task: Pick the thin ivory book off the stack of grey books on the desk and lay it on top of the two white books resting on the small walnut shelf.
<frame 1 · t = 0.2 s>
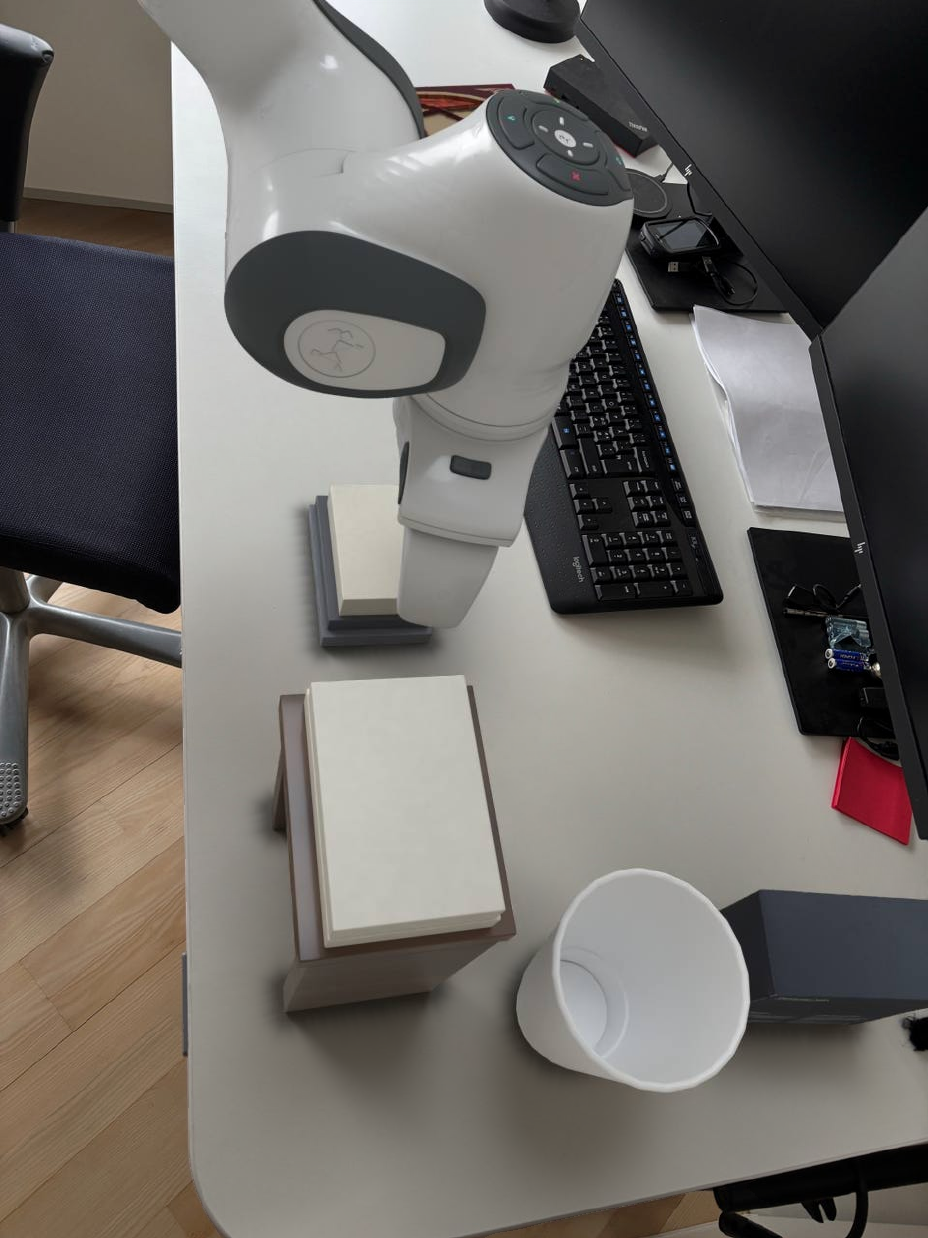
hand: (426, 538, 63), 15 cm above the table, tool pointing down, fingers open, 8 cm apart
grey books: (366, 577, 79), on the table
white books: (394, 810, 48), resting on walnut shelf
walnut shelf: (348, 896, 65), on the table
cup: (562, 1009, 65), on the table
small box: (765, 975, 70), on the table
ivory book: (372, 557, 76), point 3 cm above the table, touching grey books
book: (437, 162, 109), on the table
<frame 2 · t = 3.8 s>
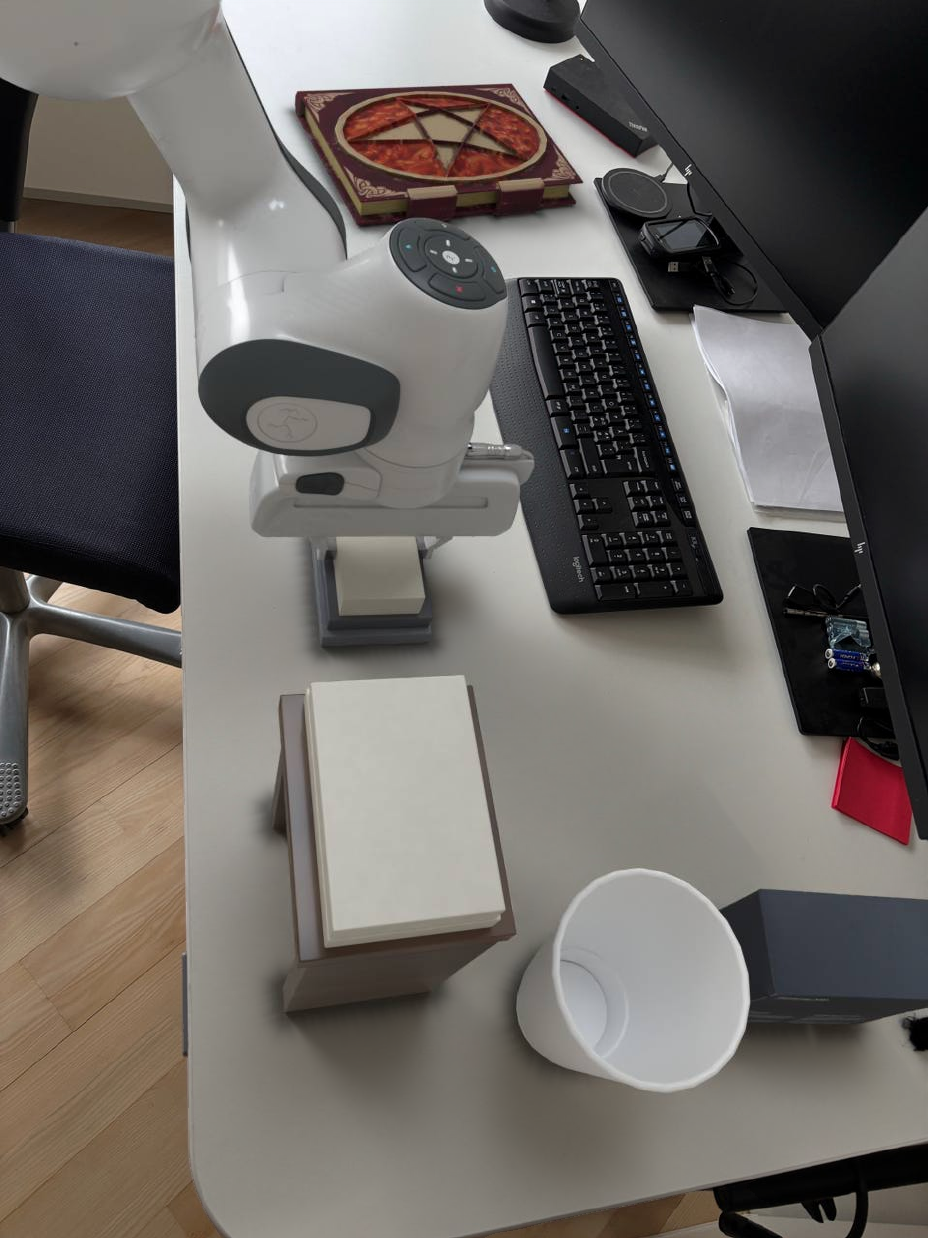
hand: (373, 552, 75), 4 cm above the table, tool pointing down, fingers closed on ivory book, 6 cm apart
ivory book: (372, 557, 76), point 3 cm above the table, touching grey books, gripper
everything else where it was.
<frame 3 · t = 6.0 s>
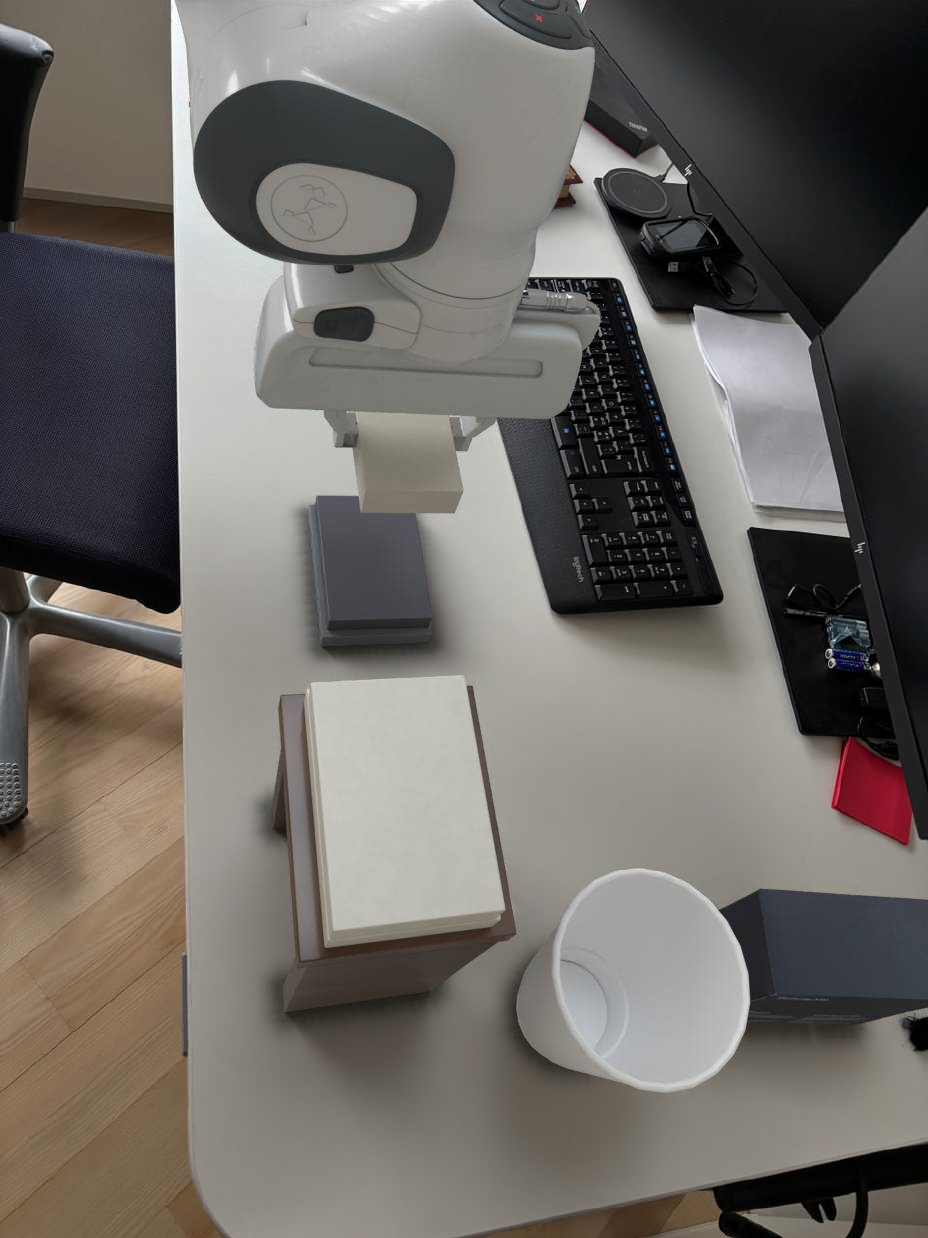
hand: (399, 442, 63), 18 cm above the table, tool pointing down, fingers closed on ivory book, 6 cm apart
ivory book: (398, 448, 64), point 17 cm above the table, touching gripper
everything else where it was.
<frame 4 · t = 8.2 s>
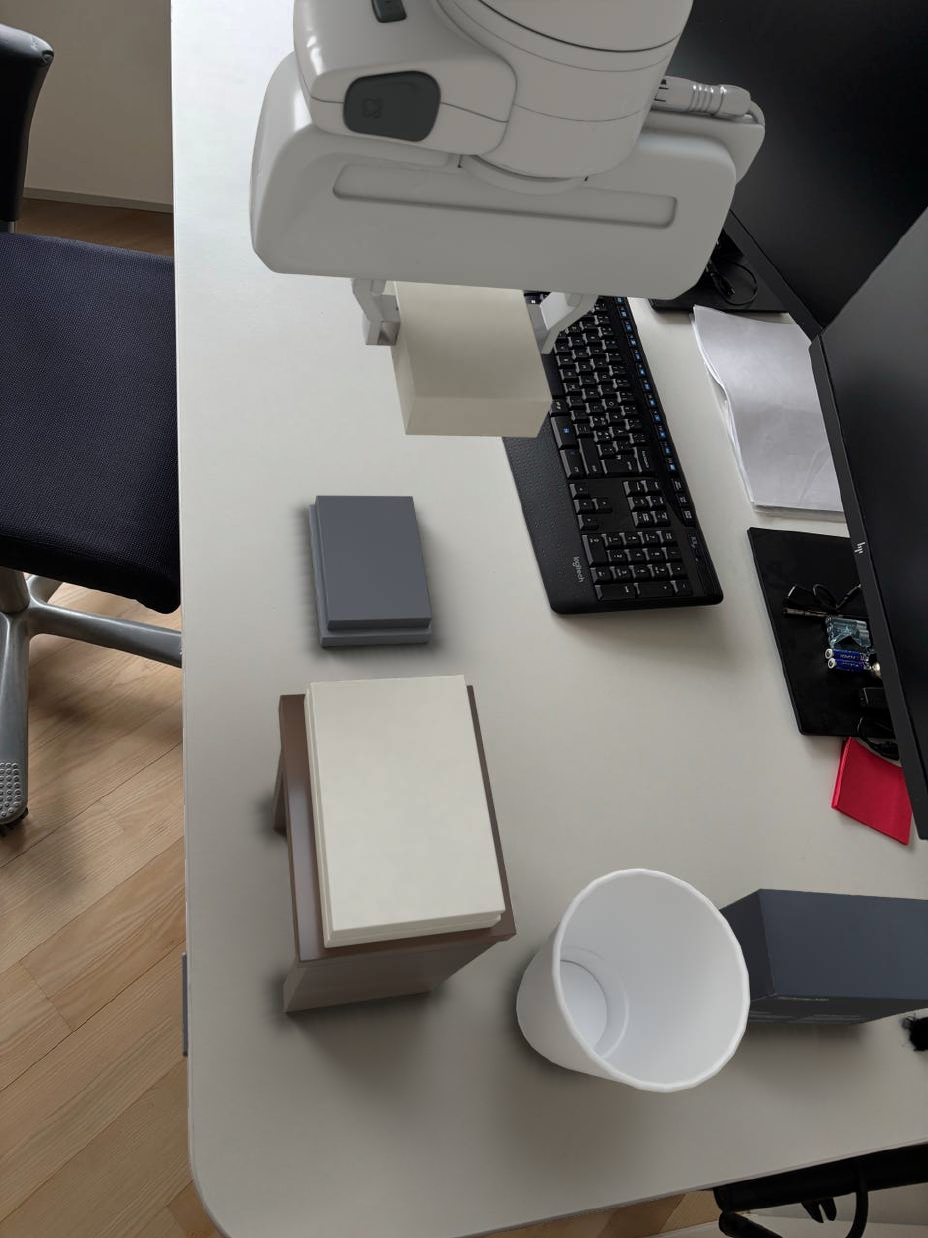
hand: (455, 340, 45), 35 cm above the table, tool pointing down, fingers closed on ivory book, 6 cm apart
ivory book: (453, 350, 46), point 34 cm above the table, touching gripper
everything else where it was.
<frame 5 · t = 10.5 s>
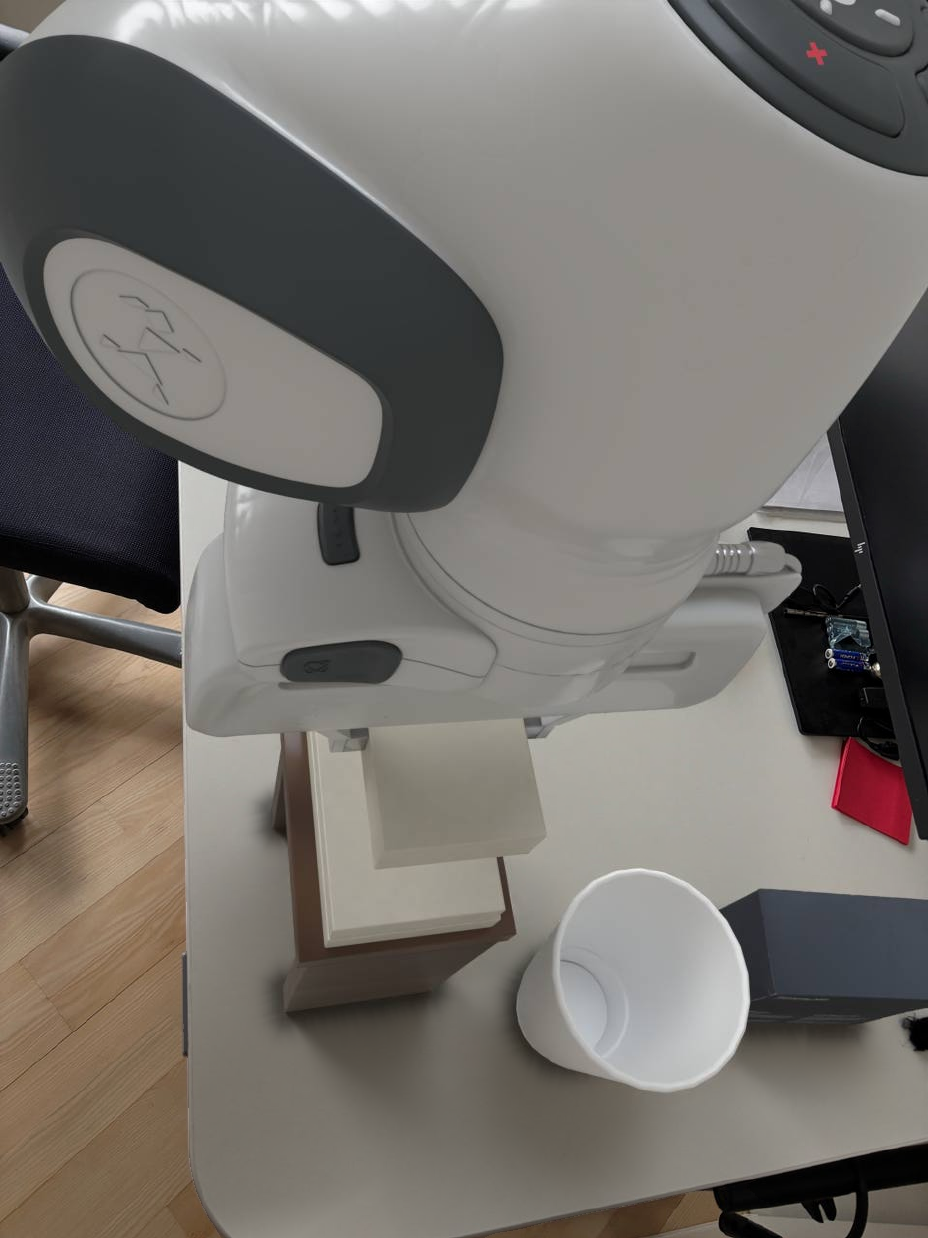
hand: (436, 729, 39), 31 cm above the table, tool pointing down, fingers closed on ivory book, 6 cm apart
ivory book: (433, 735, 40), point 30 cm above the table, touching gripper
everything else where it was.
when the fingers open (24 cm above the table, at t = 12.6 s): ivory book stays where it is, resting on white books.
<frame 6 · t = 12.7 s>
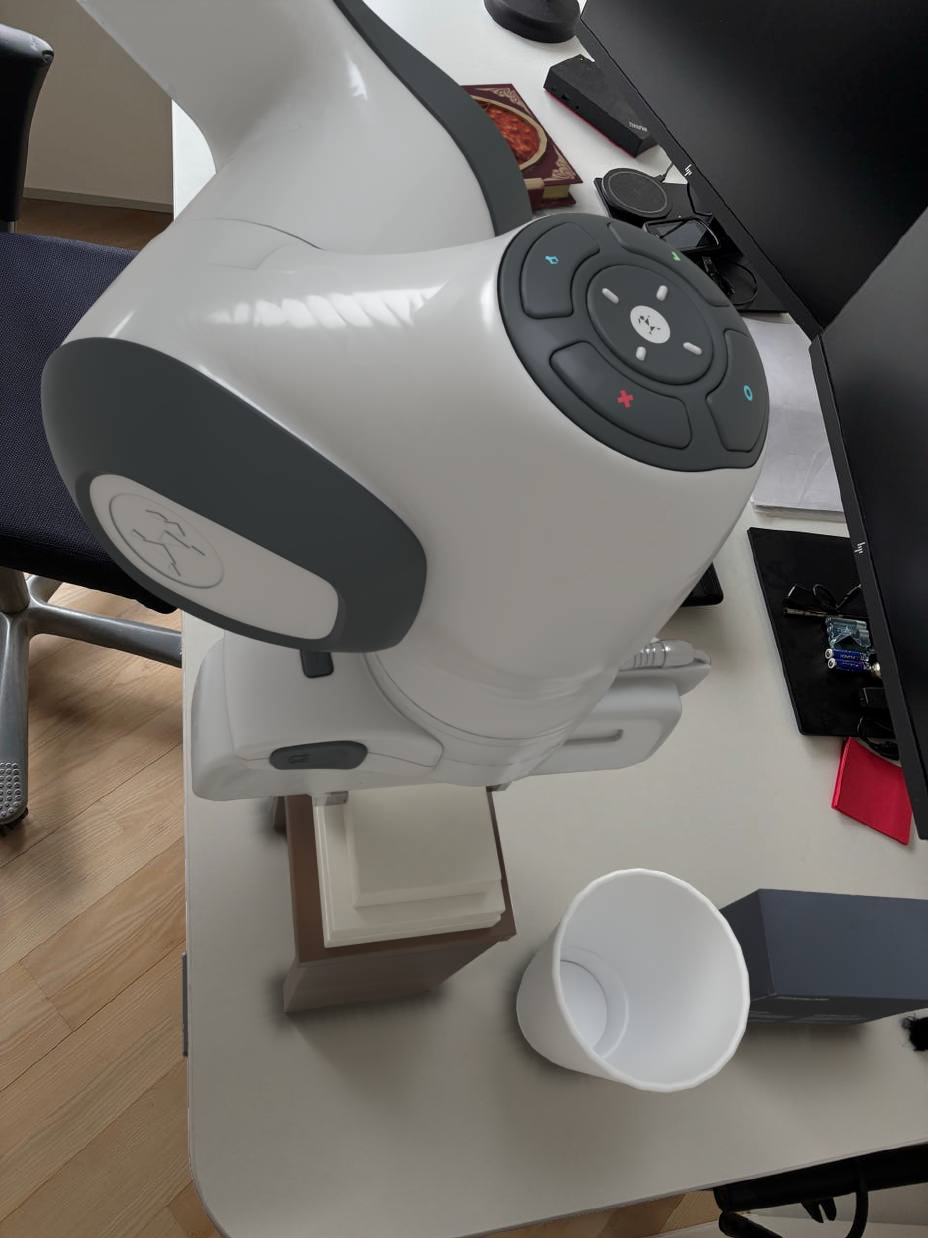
hand: (408, 783, 45), 24 cm above the table, tool pointing down, fingers open, 6 cm apart
ivory book: (406, 787, 45), point 24 cm above the table, touching white books
everything else where it was.
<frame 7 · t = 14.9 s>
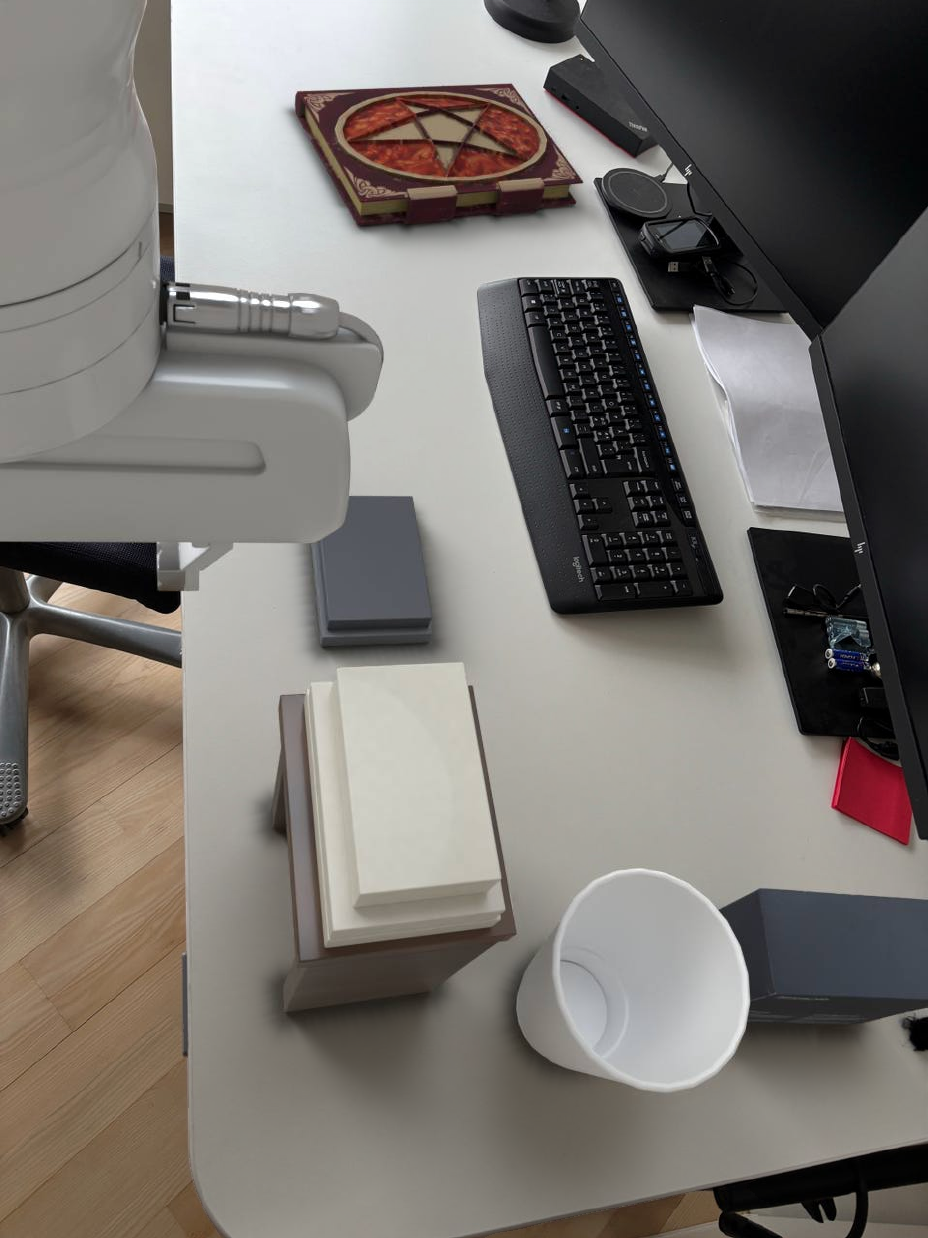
hand: (41, 576, 33), 36 cm above the table, tool pointing down, fingers open, 8 cm apart
nothing on the table moved.
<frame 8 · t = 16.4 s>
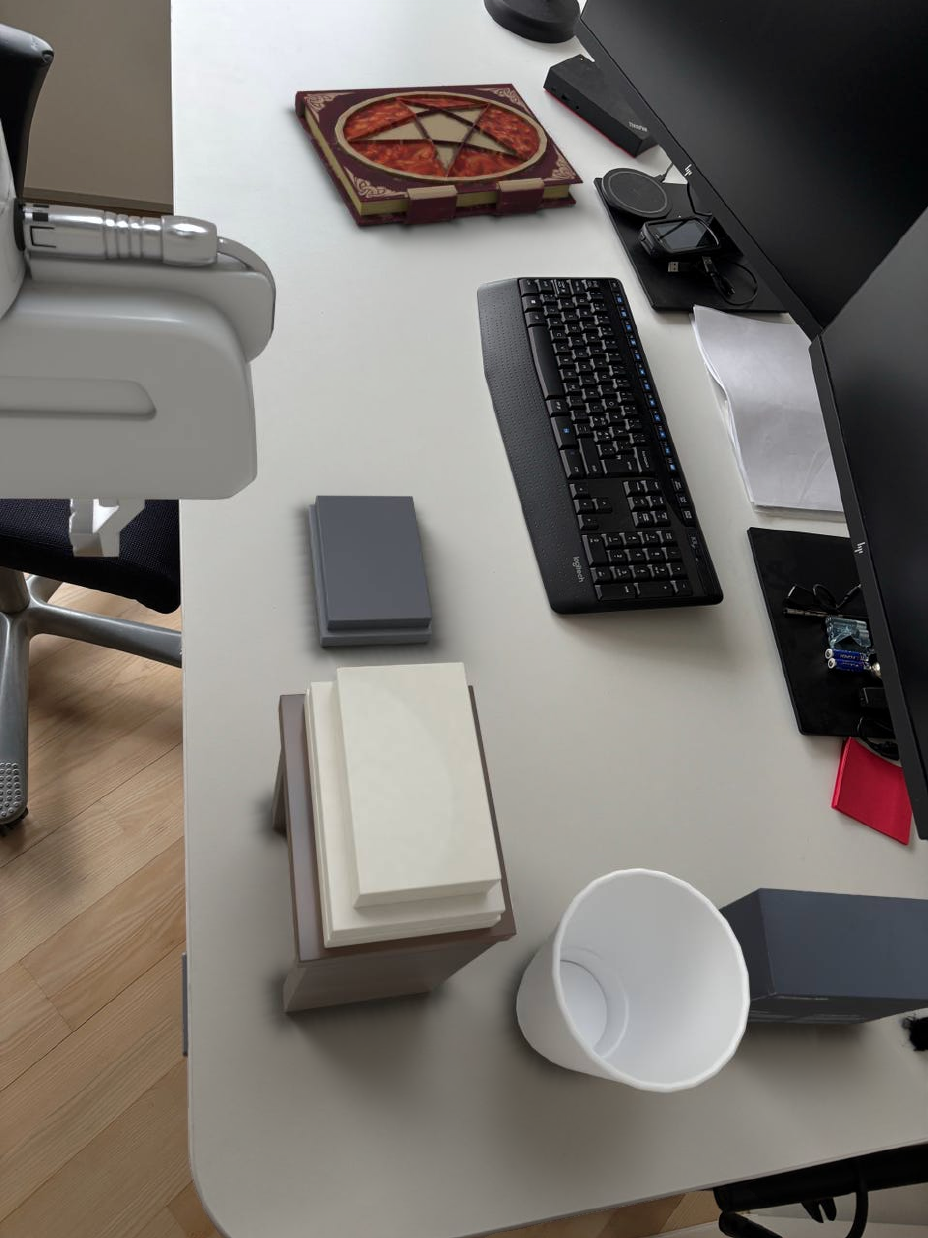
nothing on the table moved.
at the end: ivory book inside the target area on the white books (0.0 cm from its centre), point 3.6 cm above the white books's base; ivory book tilted 0°; the gripper is holding nothing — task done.
